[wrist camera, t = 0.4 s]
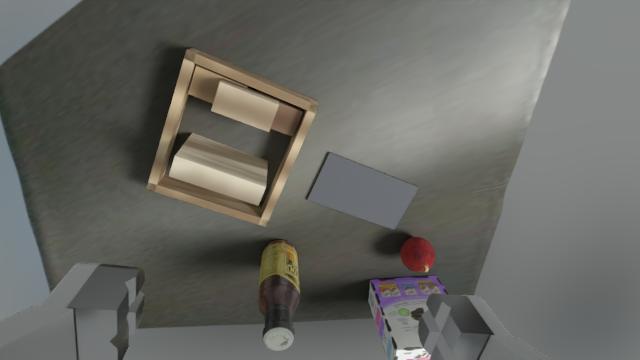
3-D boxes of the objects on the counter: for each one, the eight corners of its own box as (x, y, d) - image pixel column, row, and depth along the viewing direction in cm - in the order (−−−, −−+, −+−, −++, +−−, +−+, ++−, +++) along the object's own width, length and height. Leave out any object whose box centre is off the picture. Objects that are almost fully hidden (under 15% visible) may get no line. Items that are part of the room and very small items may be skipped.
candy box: (366, 301, 71) (391, 376, 56) (369, 277, 68) (395, 349, 53) (433, 297, 72) (474, 369, 57) (438, 274, 70) (481, 343, 55)
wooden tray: (193, 47, 48) (186, 49, 45) (316, 100, 53) (318, 105, 49) (154, 178, 55) (146, 189, 52) (266, 214, 60) (265, 226, 56)
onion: (391, 235, 65) (405, 263, 57) (421, 224, 64) (439, 250, 57) (399, 259, 67) (414, 288, 60) (428, 248, 67) (446, 276, 60)
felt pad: (329, 151, 57) (329, 152, 56) (418, 186, 61) (419, 187, 61) (307, 198, 60) (307, 199, 59) (393, 228, 64) (394, 229, 64)
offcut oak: (200, 63, 50) (196, 65, 47) (248, 83, 51) (247, 86, 49) (192, 89, 51) (187, 93, 48) (239, 108, 53) (237, 113, 50)
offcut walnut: (257, 89, 52) (256, 93, 49) (301, 107, 54) (303, 112, 51) (248, 114, 53) (247, 119, 50) (292, 131, 55) (292, 136, 52)
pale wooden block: (192, 132, 53) (174, 155, 44) (268, 160, 56) (266, 187, 47) (186, 150, 54) (168, 176, 45) (261, 176, 57) (258, 205, 48)
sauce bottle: (299, 262, 65) (308, 355, 47) (266, 269, 65) (262, 365, 47) (292, 232, 62) (298, 319, 44) (257, 239, 62) (249, 329, 44)
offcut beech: (223, 78, 48) (219, 81, 45) (279, 100, 50) (279, 105, 47) (214, 105, 49) (211, 110, 46) (269, 126, 51) (268, 132, 48)
